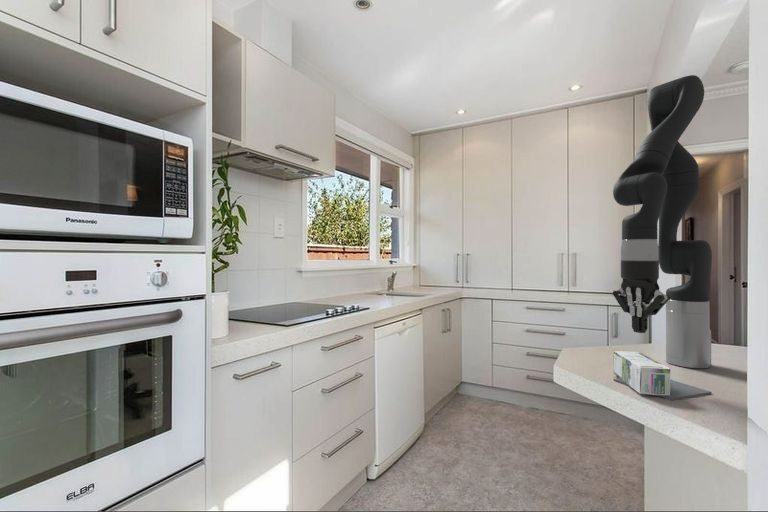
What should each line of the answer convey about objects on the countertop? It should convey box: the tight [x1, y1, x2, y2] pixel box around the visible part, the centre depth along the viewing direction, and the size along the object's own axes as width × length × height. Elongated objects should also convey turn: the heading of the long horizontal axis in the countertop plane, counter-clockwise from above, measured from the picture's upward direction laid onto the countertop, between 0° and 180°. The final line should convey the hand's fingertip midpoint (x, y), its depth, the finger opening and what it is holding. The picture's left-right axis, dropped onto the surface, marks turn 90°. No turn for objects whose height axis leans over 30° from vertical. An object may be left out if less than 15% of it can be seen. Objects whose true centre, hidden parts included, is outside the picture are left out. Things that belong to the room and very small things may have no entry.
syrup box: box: [612, 350, 671, 396], centre depth 85 cm, size 6×6×14 cm
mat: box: [613, 377, 712, 401], centre depth 84 cm, size 12×13×1 cm
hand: (639, 332), depth 90 cm, fingers closed
